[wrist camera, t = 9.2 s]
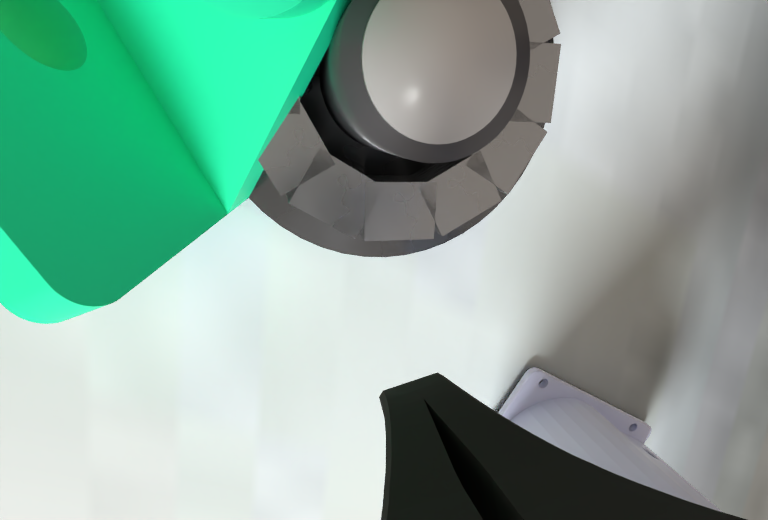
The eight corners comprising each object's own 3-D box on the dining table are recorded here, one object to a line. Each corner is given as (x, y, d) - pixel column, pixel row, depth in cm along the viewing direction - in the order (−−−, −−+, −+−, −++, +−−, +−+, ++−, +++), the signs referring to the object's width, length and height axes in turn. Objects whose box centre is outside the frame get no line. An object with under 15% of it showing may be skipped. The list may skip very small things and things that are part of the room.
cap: (481, 55, 16) (569, 29, 12) (411, 175, 17) (466, 198, 12) (365, -36, 15) (412, -111, 10) (292, 102, 15) (302, 94, 11)
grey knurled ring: (597, 31, 18) (657, 15, 15) (429, 299, 20) (455, 328, 17) (316, -234, 14) (328, -323, 11) (130, 144, 15) (100, 149, 13)
